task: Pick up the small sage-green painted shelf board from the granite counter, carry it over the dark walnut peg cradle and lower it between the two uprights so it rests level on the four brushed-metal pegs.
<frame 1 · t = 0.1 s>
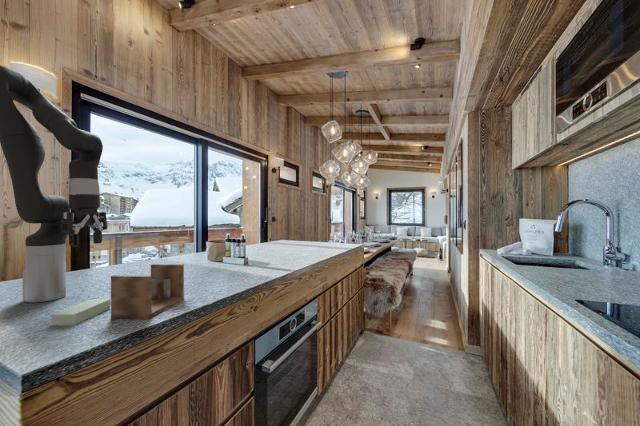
hand: (86, 245, 89), 17 cm above the worktop, tool pointing down, fingers open, 8 cm apart
shelf board: (83, 317, 75), on the worktop
clay tablet: (151, 292, 99), on the worktop
peg cradle: (151, 307, 81), on the worktop
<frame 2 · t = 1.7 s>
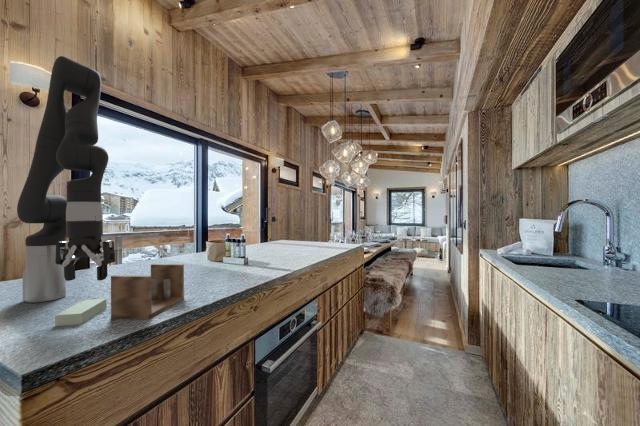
hand: (86, 280, 75), 9 cm above the worktop, tool pointing down, fingers open, 8 cm apart
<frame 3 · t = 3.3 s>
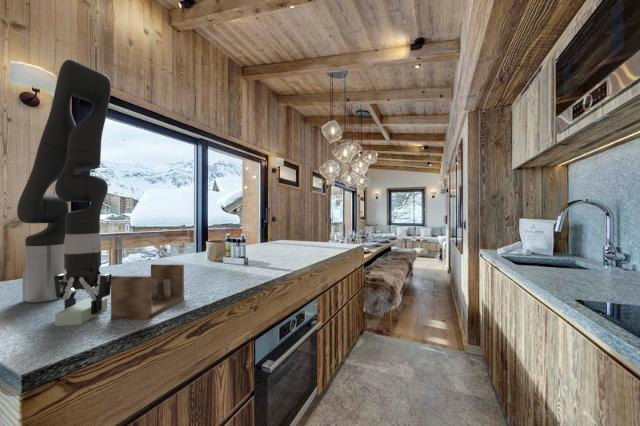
hand: (83, 313, 75), 1 cm above the worktop, tool pointing down, fingers closed on shelf board, 6 cm apart
shelf board: (83, 316, 75), on the worktop, touching gripper
everything else where it was.
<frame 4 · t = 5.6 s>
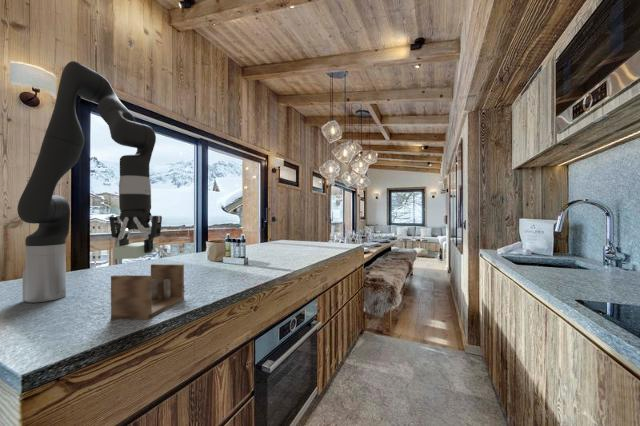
hand: (136, 252, 79), 16 cm above the worktop, tool pointing down, fingers closed on shelf board, 6 cm apart
shelf board: (136, 255, 79), point 15 cm above the worktop, touching gripper
everything else where it was.
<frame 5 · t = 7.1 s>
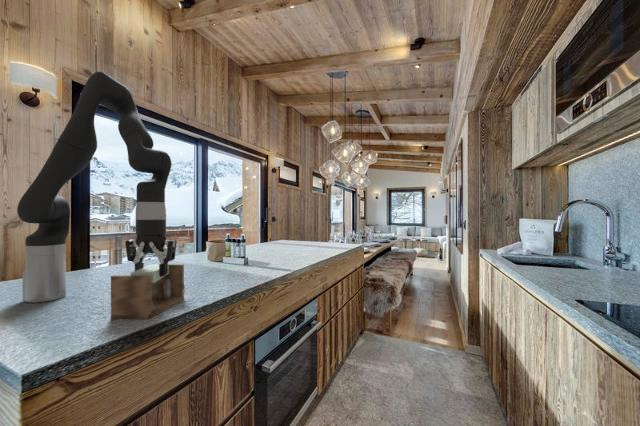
hand: (151, 275, 81), 9 cm above the worktop, tool pointing down, fingers closed on shelf board, 6 cm apart
shelf board: (151, 278, 81), point 8 cm above the worktop, touching gripper
everything else where it was.
when the fingers open (9 cm above the worktop, at t = 8.2 s): shelf board stays where it is, resting on peg cradle.
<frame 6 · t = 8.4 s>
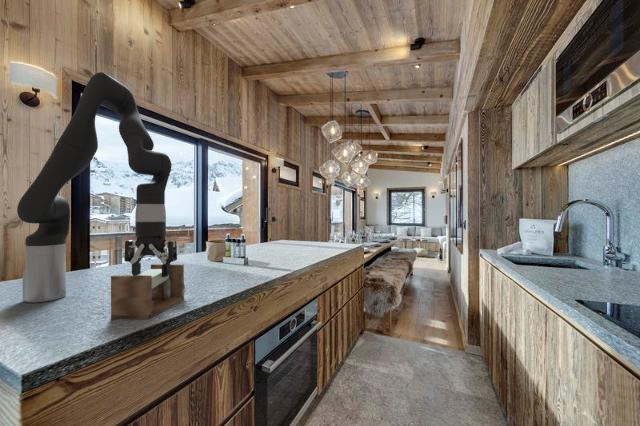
hand: (151, 276, 81), 9 cm above the worktop, tool pointing down, fingers open, 8 cm apart
shelf board: (150, 283, 81), point 7 cm above the worktop, touching peg cradle
everything else where it was.
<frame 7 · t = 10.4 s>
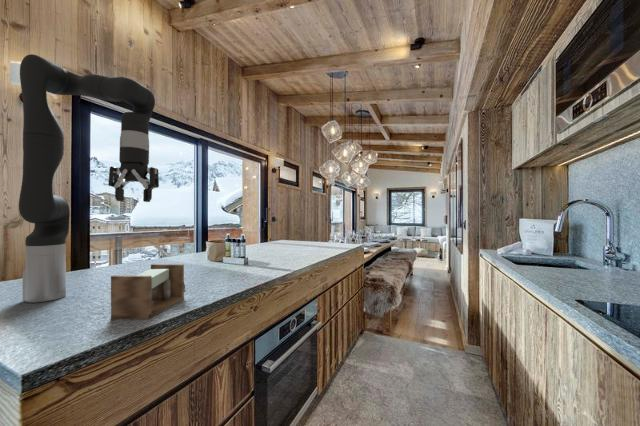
hand: (133, 201, 86), 31 cm above the worktop, tool pointing down, fingers open, 8 cm apart
nothing on the worktop moved.
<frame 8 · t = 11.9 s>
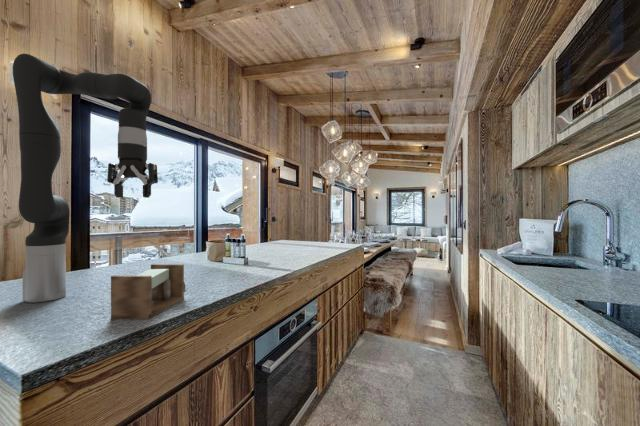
hand: (132, 197, 86), 32 cm above the worktop, tool pointing down, fingers open, 8 cm apart
at the end: shelf board 0.1 cm off-centre on the peg cradle, point 7.0 cm above the peg cradle's base; shelf board tilted 0°; the gripper is holding nothing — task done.
